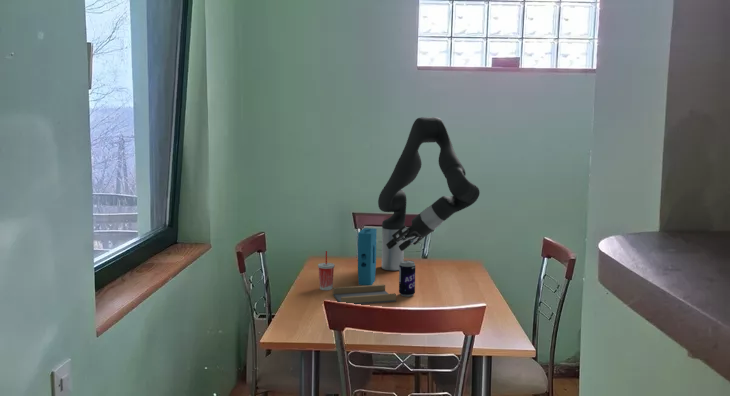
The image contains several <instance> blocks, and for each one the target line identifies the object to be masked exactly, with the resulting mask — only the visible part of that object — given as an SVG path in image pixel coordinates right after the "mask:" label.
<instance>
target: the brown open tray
mask: <svg viewBox="0 0 730 396" xmlns="http://www.w3.org/2000/svg"><path fill="white" fill-rule="evenodd" d="M332 295H333V297H334V298H335V299H336V300H337V302H338V303H339V302H346V303H354V304H355V305H366V304H367V305H370V304H380V303H394V302H395V303H396V302H397V294H396V293H393V292H392V293H388V291H386V284H372V285H368V286H367V285H355V286H353V285H352V286H339V287H333V288H332Z"/></svg>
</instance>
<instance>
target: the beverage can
mask: <svg viewBox="0 0 730 396" xmlns="http://www.w3.org/2000/svg"><path fill="white" fill-rule="evenodd" d="M398 272H399V275H398V293H399V294H400V295H401V296H402V297H405V298H406V297H413V296H414V295H415V294H416V264H415V261H413V260H408V259H407V260H406V259H404V261H401V263H400V265H399V270H398Z"/></svg>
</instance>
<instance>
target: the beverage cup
mask: <svg viewBox="0 0 730 396" xmlns="http://www.w3.org/2000/svg"><path fill="white" fill-rule="evenodd" d="M317 267H318V276H319V277H318V279H319V290H321V291H331V290H333V288H334V287H333V286H334V285H333V284H334V273H335V272H334V270H335V269H334V268H335V263H331V262H328V251H327V250H326V251H325V262H321V263H318V264H317Z"/></svg>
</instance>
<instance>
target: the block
mask: <svg viewBox="0 0 730 396" xmlns="http://www.w3.org/2000/svg"><path fill="white" fill-rule="evenodd" d="M357 238H358V239H357V278H358V279H357V281H358V286H368V285H374V283H375V281H376V272H377V271H376V269H377V268H376V267H377V228H372V227H371V228H370V227H369V228H368V227H364V228H363V229H361V230H360V231H359V232H358V233H357Z"/></svg>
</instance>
